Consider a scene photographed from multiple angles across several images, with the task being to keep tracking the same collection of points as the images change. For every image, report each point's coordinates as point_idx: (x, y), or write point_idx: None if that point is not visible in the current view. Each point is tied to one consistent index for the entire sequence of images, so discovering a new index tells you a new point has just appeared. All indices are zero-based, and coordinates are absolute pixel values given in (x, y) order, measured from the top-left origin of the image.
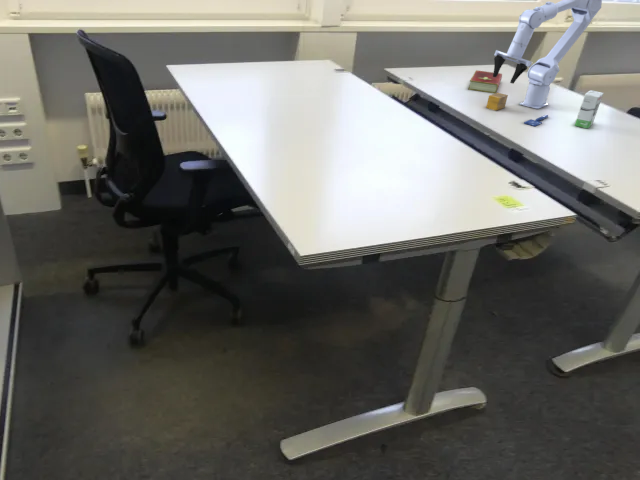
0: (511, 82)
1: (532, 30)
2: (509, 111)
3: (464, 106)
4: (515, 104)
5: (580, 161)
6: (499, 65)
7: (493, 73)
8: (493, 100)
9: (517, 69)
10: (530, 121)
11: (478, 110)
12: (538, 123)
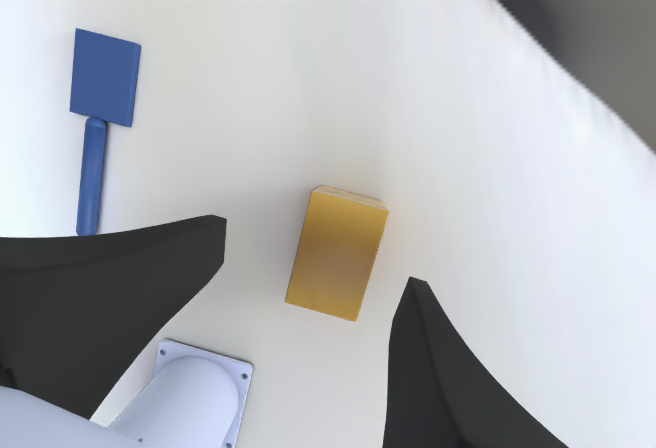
0: (210, 215)
1: None
2: (260, 220)
3: (500, 149)
4: (269, 360)
5: None
6: (406, 409)
7: (433, 295)
8: (349, 198)
9: (64, 250)
10: (115, 83)
11: (407, 124)
12: (74, 75)
